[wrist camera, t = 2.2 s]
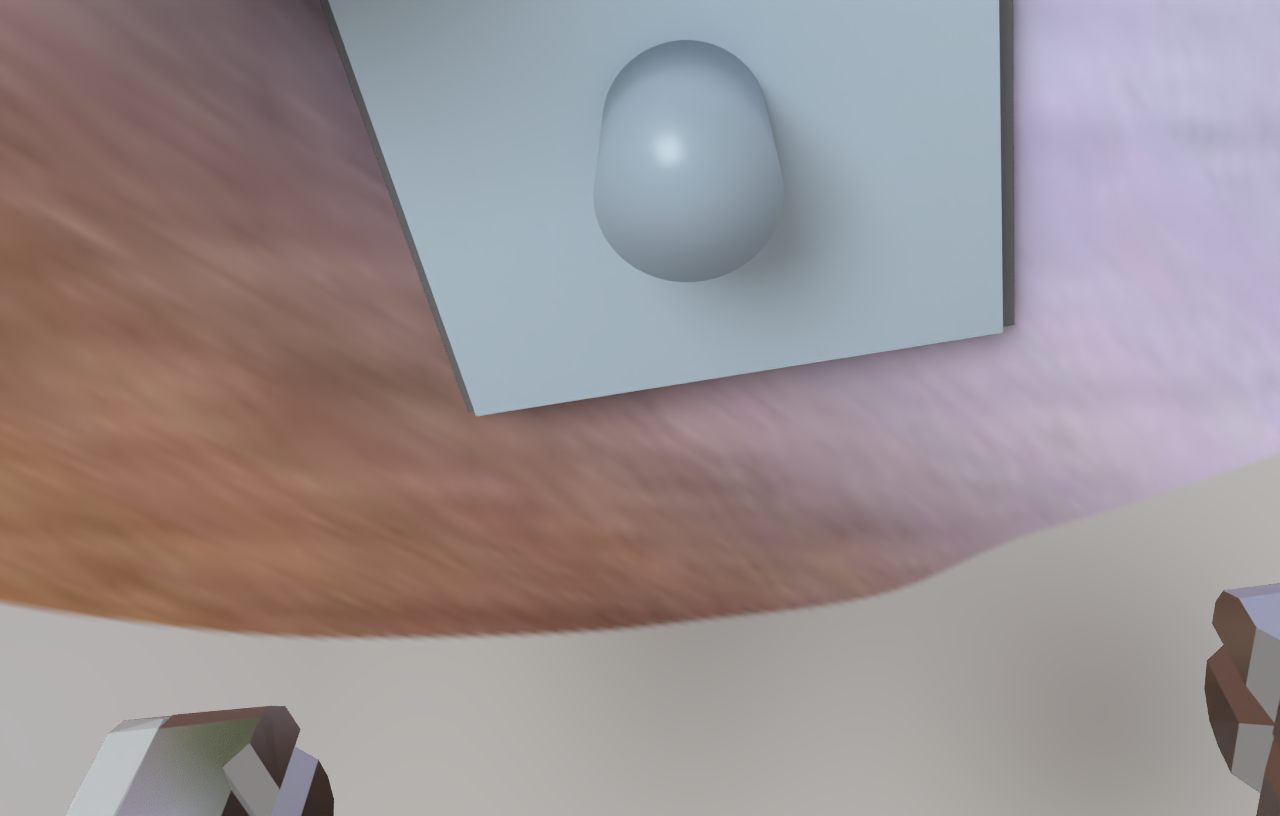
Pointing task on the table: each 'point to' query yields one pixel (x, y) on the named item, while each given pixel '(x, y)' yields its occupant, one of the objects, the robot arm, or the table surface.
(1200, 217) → the table surface
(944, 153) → the lid
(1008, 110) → the mat
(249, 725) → the robot arm
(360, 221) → the table surface
